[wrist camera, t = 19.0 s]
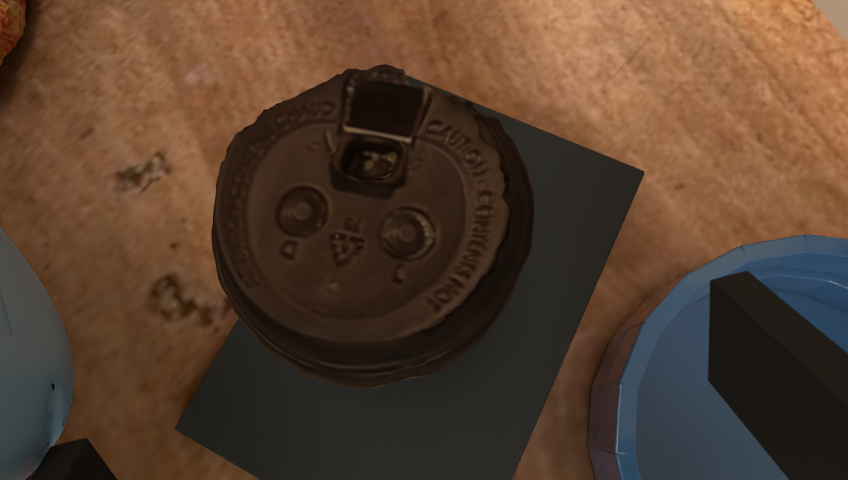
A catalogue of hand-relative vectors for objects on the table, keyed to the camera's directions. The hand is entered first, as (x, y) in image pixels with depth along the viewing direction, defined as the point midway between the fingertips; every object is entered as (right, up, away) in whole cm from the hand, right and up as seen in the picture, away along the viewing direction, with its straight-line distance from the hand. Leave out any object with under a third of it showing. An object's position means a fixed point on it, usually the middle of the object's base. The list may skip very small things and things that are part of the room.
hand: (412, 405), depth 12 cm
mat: (0, +1, +14) cm, 14 cm away
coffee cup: (0, +1, +14) cm, 14 cm away
